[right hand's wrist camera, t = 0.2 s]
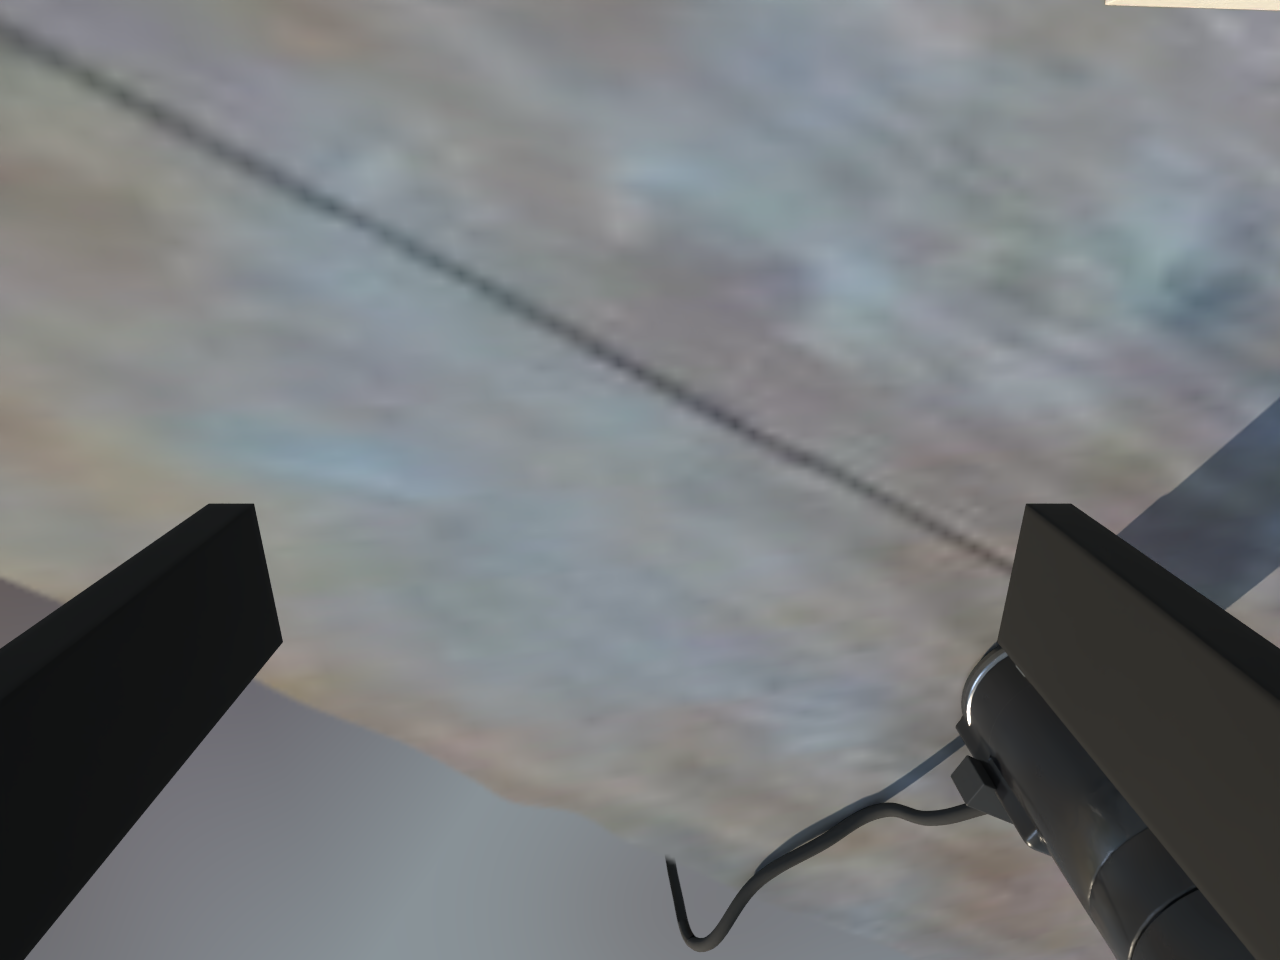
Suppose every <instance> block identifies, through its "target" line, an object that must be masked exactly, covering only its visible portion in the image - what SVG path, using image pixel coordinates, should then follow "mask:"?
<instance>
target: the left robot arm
mask: <svg viewBox="0 0 1280 960" xmlns="http://www.w3.org/2000/svg"><path fill="white" fill-rule="evenodd" d="M961 706H962V713H963V716H962V718H961V720H960V721H959V722H958V724H957V725H956V729H957V731H958V733H959V734H960V736H961V738H962V739H963V741H964V743H965V744H966V746H967V748H968V749H969V751H970V753H971V754H972V756H973V757H970V756H968V755H967V756H966V757H965V758H964V760H963V761H962V762H961V763H960V765H959V766H958V767H957V768H956V770H955V771H954V772H953V773H952V775H951V778H952V780H953V782H954V783H955V785H956V787H957V789H958V791H959V793H960V794H961V796H962V798H963V800H964V802H965V804H962V805H959V806H955V807H952V808H948V809H943V810H935V811H920V810H916V809H913V808H910V807H907V806H904V805H901V804H897V803H881V804H876V805H873V806H869V807H867V808H864V809H862V810H860V811H858V812H856V813H854V814H852V815H851V816H849V817H848V818H846V819H845V820H843V821H842V822H840V823H839V824H837V825H836V826H834V827H833V828H831V829H830V830H829V831H827V832H825V833H824V834H822V835H821V836H819V837H817V838H815V839H814V840H812V841H810V842H808V843H806V844H804V845H802V846H801V847H799V848H797V849H795V850H793V851H791V852H789V853H787V854H785V855H783V856H782V857H780V858H778V859H776V860H775V861H773V862H771V863H770V864H768V865H767V866H765V867H764V868H763V869H761V870H760V871H759V872H757V873H756V874H755V875H754V876H753V877H752V878H751V879H749V881H748V882H747V883H746V884H745V885H744V886H743V887H742V889H741V890H740V891H739V893H738V894H737V895H736V897H735V898H734V900H733V901H732V903H731V904H730V906H729V908H728V909H727V911H726V912H725V914H724V916H723V917H722V919H721V921H720V922H719V923H718V925H717V926H716V928H715V929H714V930H713V931H712V932H711V933H710V934H709V935H708V936H707V937H705V938H697V937H696V936H695V935H694V934H693V932H692V930H691V928H690V925H689V922H688V918H687V914H686V909H685V904H684V899H683V895H682V890H681V886H680V881H679V877H678V872H677V867H676V862H675V861H674V860H671V859H668V858H666V857H665V860H666V866H667V872H668V877H669V882H670V887H671V891H672V896H673V901H674V907H675V912H676V917H677V921H678V926H679V930H680V933H681V936H682V938H683V940H684V942H685V943H686V944H687V946H688V947H690V948H691V949H693V950H694V951H697V952H706V951H709V950H711V949H713V948H715V947H716V946H717V945H718V944H719V943H720V942H721V941H722V940H723V939H724V937H725V936H726V935H727V933H728V932H729V930H730V929H731V927H732V926H733V924H734V922H735V921H736V919H737V917H738V916H739V914H740V913H741V911H742V910H743V908H744V907H745V905H746V904H747V903H748V901H749V900H750V899H751V897H752V896H753V895H754V894H755V893H756V892H757V891H758V890H759V889H760V888H761V887H762V886H763V885H764V884H766V883H767V882H768V881H770V880H771V879H773V878H774V877H776V876H777V875H779V874H780V873H782V872H784V871H786V870H787V869H789V868H791V867H793V866H795V865H797V864H799V863H801V862H803V861H804V860H806V859H808V858H810V857H812V856H814V855H816V854H818V853H820V852H822V851H823V850H825V849H827V848H829V847H830V846H832V845H833V844H835V843H836V842H838V841H839V840H841V839H842V838H844V837H845V836H847V835H848V834H850V833H851V832H853V831H854V830H856V829H857V828H859V827H860V826H862V825H864V824H866V823H868V822H871V821H873V820H876V819H879V818H884V817H898V818H902V819H904V820H907V821H910V822H913V823H916V824H920V825H925V826H938V825H947V824H953V823H957V822H961V821H965V820H968V819H971V818H975V817H978V816H982V815H985V814H989V815H992V816H994V817H997V818H999V819H1002V820H1004V821H1007V822H1009V823H1012V824H1014V826H1015V827H1016V829H1017V831H1018V832H1019V834H1020V836H1021V837H1022V839H1023V841H1024V842H1025V843H1026V844H1027V845H1028V846H1029V847H1030V848H1032V849H1034V850H1036V851H1039V852H1041V853H1044V854H1047V855H1049V856H1052V858H1053V859H1054V861H1055V863H1056V864H1057V866H1058V867H1059V869H1060V870H1061V872H1062V874H1063V875H1064V877H1065V878H1066V880H1067V882H1068V883H1069V885H1070V886H1071V888H1072V890H1073V891H1074V893H1075V894H1076V896H1077V897H1078V899H1079V901H1080V902H1081V904H1082V905H1083V907H1084V909H1085V910H1086V912H1087V913H1088V915H1089V916H1090V918H1091V920H1092V921H1093V923H1094V924H1095V926H1096V927H1097V929H1098V930H1099V932H1100V934H1101V935H1102V937H1103V938H1104V940H1105V942H1106V943H1107V945H1108V946H1109V948H1110V949H1111V951H1112V953H1113V954H1114V956H1115V957H1116V959H1117V960H1256V959H1255V958H1254V956H1253V955H1252V954H1251V953H1250V952H1249V950H1248V949H1247V948H1246V947H1245V945H1244V944H1243V943H1242V942H1241V941H1240V939H1239V938H1238V937H1237V936H1236V934H1235V933H1234V932H1233V931H1232V930H1231V928H1230V927H1229V926H1228V925H1227V923H1226V922H1225V921H1224V920H1223V918H1222V917H1221V916H1220V915H1219V914H1218V912H1217V911H1216V910H1215V909H1214V907H1213V906H1212V905H1211V904H1210V903H1209V901H1208V900H1207V899H1206V898H1205V896H1204V895H1203V894H1202V893H1201V891H1200V890H1199V889H1198V888H1197V887H1196V885H1195V884H1194V883H1193V882H1192V880H1191V879H1190V878H1189V877H1188V876H1187V874H1186V873H1185V872H1184V871H1183V869H1182V868H1181V867H1180V866H1179V864H1178V863H1177V862H1176V861H1175V860H1174V858H1173V857H1172V856H1171V855H1170V853H1169V852H1168V851H1167V850H1166V849H1165V847H1164V846H1163V845H1162V844H1161V842H1160V841H1159V840H1158V839H1157V837H1156V836H1155V835H1154V834H1153V833H1152V831H1151V830H1150V829H1149V828H1148V826H1147V825H1146V824H1145V823H1144V822H1143V820H1142V819H1141V818H1140V817H1139V815H1138V814H1137V813H1136V812H1135V811H1134V809H1133V808H1132V807H1131V806H1130V804H1129V803H1128V802H1127V801H1126V799H1125V798H1124V797H1123V796H1122V795H1121V793H1120V792H1119V791H1118V790H1117V788H1116V787H1115V786H1114V785H1113V784H1112V782H1111V781H1110V780H1109V779H1108V777H1107V776H1106V775H1105V774H1104V772H1103V771H1102V770H1101V769H1100V768H1099V766H1098V765H1097V764H1096V763H1095V761H1094V760H1093V759H1092V758H1091V757H1090V755H1089V754H1088V753H1087V752H1086V750H1085V749H1084V748H1083V747H1082V745H1081V744H1080V743H1079V742H1078V741H1077V739H1076V738H1075V737H1074V736H1073V734H1072V733H1071V732H1070V731H1069V730H1068V728H1067V727H1066V726H1065V725H1064V723H1063V722H1062V721H1061V720H1060V718H1059V717H1058V716H1057V715H1056V714H1055V712H1054V711H1053V710H1052V709H1051V707H1050V706H1049V705H1048V704H1047V703H1046V701H1045V700H1044V699H1043V698H1042V696H1041V695H1040V694H1039V693H1038V691H1037V690H1036V689H1035V688H1034V687H1033V685H1032V684H1031V683H1030V682H1029V680H1028V679H1027V678H1026V677H1025V676H1024V674H1023V673H1022V672H1021V671H1020V669H1019V668H1018V667H1017V666H1016V665H1015V663H1014V662H1013V661H1012V660H1011V658H1010V657H1009V656H1008V655H1007V653H1006V652H1005V651H1004V650H1003V649H1002V647H1001V646H998V647H997V648H995V649H994V650H992V651H991V652H990V653H988V654H987V655H986V656H985V657H984V658H983V659H982V660H981V661H980V662H979V663H978V664H977V665H976V666H975V668H974V669H973V670H972V672H971V673H970V675H969V677H968V679H967V681H966V683H965V686H964V689H963V693H962V700H961Z"/></svg>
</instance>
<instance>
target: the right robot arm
mask: <svg viewBox="0 0 1280 960" xmlns="http://www.w3.org/2000/svg"><path fill="white" fill-rule="evenodd" d="M282 642H283V640H282V636H281V631H280V626H279V621H278V616H277V612H276V607H275V602H274V597H273V593H272V588H271V583H270V578H269V573H268V569H267V564H266V559H265V554H264V549H263V545H262V540H261V535H260V530H259V526H258V521H257V516H256V511H255V506H254V504H208V505H206V506H205V507H203V508H202V509H201V510H199V511H198V512H196V513H195V514H193V515H192V516H190V517H189V518H188V519H186V520H185V521H183V522H182V523H180V524H179V525H178V526H176V527H175V528H173V529H172V530H170V531H169V532H167V533H166V534H165V535H163V536H162V537H160V538H159V539H157V540H156V541H155V542H153V543H152V544H150V545H149V546H147V547H146V548H144V549H143V550H142V551H140V552H139V553H137V554H136V555H134V556H133V557H132V558H130V559H129V560H127V561H126V562H124V563H123V564H121V565H120V566H119V567H117V568H116V569H114V570H113V571H111V572H110V573H109V574H107V575H106V576H104V577H103V578H101V579H100V580H98V581H97V582H96V583H94V584H93V585H91V586H90V587H88V588H87V589H86V590H84V591H83V592H81V593H80V594H78V595H77V596H75V597H74V598H73V599H71V600H70V601H68V602H67V603H65V604H64V605H63V606H61V607H60V608H58V609H57V610H55V611H54V612H53V613H51V614H50V615H48V616H47V617H45V618H44V619H42V620H41V621H40V622H38V623H37V624H35V625H34V626H32V627H31V628H30V629H28V630H27V631H25V632H24V633H22V634H21V635H20V636H18V637H17V638H15V639H14V640H12V641H11V642H9V643H8V644H6V645H5V646H4V647H2V648H1V649H0V960H24V959H25V958H26V956H27V955H28V954H29V953H30V952H31V950H32V949H33V948H34V947H35V945H36V944H37V943H38V942H39V941H40V939H41V938H42V937H43V936H44V934H45V933H46V932H47V931H48V929H49V928H50V927H51V926H52V925H53V923H54V922H55V921H56V920H57V918H58V917H59V916H60V915H61V914H62V912H63V911H64V910H65V909H66V907H67V906H68V905H69V904H70V902H71V901H72V900H73V899H74V898H75V896H76V895H77V894H78V893H79V891H80V890H81V889H82V888H83V887H84V885H85V884H86V883H87V882H88V880H89V879H90V878H91V877H92V876H93V874H94V873H95V872H96V871H97V869H98V868H99V867H100V866H101V864H102V863H103V862H104V861H105V860H106V858H107V857H108V856H109V855H110V853H111V852H112V851H113V850H114V849H115V847H116V846H117V845H118V844H119V842H120V841H121V840H122V839H123V837H124V836H125V835H126V834H127V833H128V831H129V830H130V829H131V828H132V826H133V825H134V824H135V823H136V822H137V820H138V819H139V818H140V817H141V815H142V814H143V813H144V812H145V810H146V809H147V808H148V807H149V806H150V804H151V803H152V802H153V801H154V799H155V798H156V797H157V796H158V795H159V793H160V792H161V791H162V790H163V788H164V787H165V786H166V785H167V784H168V782H169V781H170V780H171V778H172V777H173V776H174V775H175V774H176V772H177V771H178V770H179V769H180V768H181V766H182V765H183V764H184V763H185V761H186V760H187V759H188V758H189V756H190V755H191V754H192V753H193V752H194V750H195V749H196V748H197V747H198V745H199V744H200V743H201V742H202V741H203V739H204V738H205V737H206V736H207V734H208V733H209V732H210V731H211V729H212V728H213V727H214V726H215V725H216V723H217V722H218V721H219V720H220V718H221V717H222V716H223V715H224V714H225V712H226V711H227V710H228V709H229V707H230V706H231V705H232V704H233V703H234V701H235V700H236V699H237V698H238V696H239V695H240V694H241V693H242V691H243V690H244V689H245V688H246V687H247V685H248V684H249V683H250V682H251V680H252V679H253V678H254V677H255V676H256V674H257V673H258V672H259V671H260V669H261V668H262V667H263V666H264V665H265V663H266V662H267V661H268V660H269V658H270V657H271V656H272V655H273V653H274V652H275V651H276V650H277V649H278V647H279V646H280V645H281V644H282ZM997 642H998V644H999V645H1000V646H1001V647H1002V649H1003V650H1004V651H1005V652H1006V653H1007V655H1008V656H1009V657H1010V658H1011V660H1012V661H1013V662H1014V663H1015V665H1016V666H1017V667H1018V668H1019V669H1020V671H1021V672H1022V673H1023V674H1024V676H1025V677H1026V678H1027V679H1028V680H1029V682H1030V683H1031V684H1032V685H1033V687H1034V688H1035V689H1036V690H1037V691H1038V693H1039V694H1040V695H1041V696H1042V698H1043V699H1044V700H1045V701H1046V703H1047V704H1048V705H1049V706H1050V707H1051V709H1052V710H1053V711H1054V712H1055V714H1056V715H1057V716H1058V717H1059V718H1060V720H1061V721H1062V722H1063V723H1064V725H1065V726H1066V727H1067V728H1068V730H1069V731H1070V732H1071V733H1072V734H1073V736H1074V737H1075V738H1076V739H1077V741H1078V742H1079V743H1080V744H1081V745H1082V747H1083V748H1084V749H1085V750H1086V752H1087V753H1088V754H1089V755H1090V757H1091V758H1092V759H1093V760H1094V761H1095V763H1096V764H1097V765H1098V766H1099V768H1100V769H1101V770H1102V771H1103V772H1104V774H1105V775H1106V776H1107V777H1108V779H1109V780H1110V781H1111V782H1112V784H1113V785H1114V786H1115V787H1116V788H1117V790H1118V791H1119V792H1120V793H1121V795H1122V796H1123V797H1124V798H1125V799H1126V801H1127V802H1128V803H1129V804H1130V806H1131V807H1132V808H1133V809H1134V811H1135V812H1136V813H1137V814H1138V815H1139V817H1140V818H1141V819H1142V820H1143V822H1144V823H1145V824H1146V825H1147V826H1148V828H1149V829H1150V830H1151V831H1152V833H1153V834H1154V835H1155V836H1156V837H1157V839H1158V840H1159V841H1160V842H1161V844H1162V845H1163V846H1164V847H1165V849H1166V850H1167V851H1168V852H1169V853H1170V855H1171V856H1172V857H1173V858H1174V860H1175V861H1176V862H1177V863H1178V864H1179V866H1180V867H1181V868H1182V869H1183V871H1184V872H1185V873H1186V874H1187V876H1188V877H1189V878H1190V879H1191V880H1192V882H1193V883H1194V884H1195V885H1196V887H1197V888H1198V889H1199V890H1200V891H1201V893H1202V894H1203V895H1204V896H1205V898H1206V899H1207V900H1208V901H1209V903H1210V904H1211V905H1212V906H1213V907H1214V909H1215V910H1216V911H1217V912H1218V914H1219V915H1220V916H1221V917H1222V918H1223V920H1224V921H1225V922H1226V923H1227V925H1228V926H1229V927H1230V928H1231V930H1232V931H1233V932H1234V933H1235V934H1236V936H1237V937H1238V938H1239V939H1240V941H1241V942H1242V943H1243V944H1244V945H1245V947H1246V948H1247V949H1248V950H1249V952H1250V953H1251V954H1252V955H1253V956H1254V958H1255V959H1256V960H1280V649H1279V648H1278V647H1276V646H1275V645H1274V644H1272V643H1271V642H1269V641H1268V640H1266V639H1265V638H1263V637H1262V636H1261V635H1259V634H1258V633H1256V632H1255V631H1253V630H1252V629H1251V628H1249V627H1248V626H1246V625H1245V624H1243V623H1242V622H1240V621H1239V620H1238V619H1236V618H1235V617H1233V616H1232V615H1230V614H1229V613H1228V612H1226V611H1225V610H1223V609H1222V608H1220V607H1219V606H1217V605H1216V604H1215V603H1213V602H1212V601H1210V600H1209V599H1207V598H1206V597H1205V596H1203V595H1202V594H1200V593H1199V592H1197V591H1196V590H1194V589H1193V588H1192V587H1190V586H1189V585H1187V584H1186V583H1184V582H1183V581H1182V580H1180V579H1179V578H1177V577H1176V576H1174V575H1173V574H1171V573H1170V572H1169V571H1167V570H1166V569H1164V568H1163V567H1161V566H1160V565H1159V564H1157V563H1156V562H1154V561H1153V560H1151V559H1150V558H1148V557H1147V556H1146V555H1144V554H1143V553H1141V552H1140V551H1138V550H1137V549H1136V548H1134V547H1133V546H1131V545H1130V544H1128V543H1127V542H1125V541H1124V540H1123V539H1121V538H1120V537H1118V536H1117V535H1115V534H1114V533H1113V532H1111V531H1110V530H1108V529H1107V528H1105V527H1104V526H1102V525H1101V524H1100V523H1098V522H1097V521H1095V520H1094V519H1092V518H1091V517H1090V516H1088V515H1087V514H1085V513H1084V512H1082V511H1081V510H1079V509H1078V508H1077V507H1075V506H1074V505H1072V504H1026V506H1025V511H1024V516H1023V521H1022V526H1021V530H1020V535H1019V540H1018V545H1017V549H1016V554H1015V559H1014V564H1013V569H1012V573H1011V578H1010V583H1009V588H1008V593H1007V597H1006V602H1005V607H1004V612H1003V616H1002V621H1001V626H1000V631H999V636H998V640H997Z"/></svg>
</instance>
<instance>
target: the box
mask: <svg viewBox="0 0 1280 960" xmlns="http://www.w3.org/2000/svg"><path fill="white" fill-rule="evenodd" d="M1105 4H1106V5H1128V6H1160V7H1192V8H1224V9H1256V10H1280V0H1106V2H1105Z"/></svg>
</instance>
